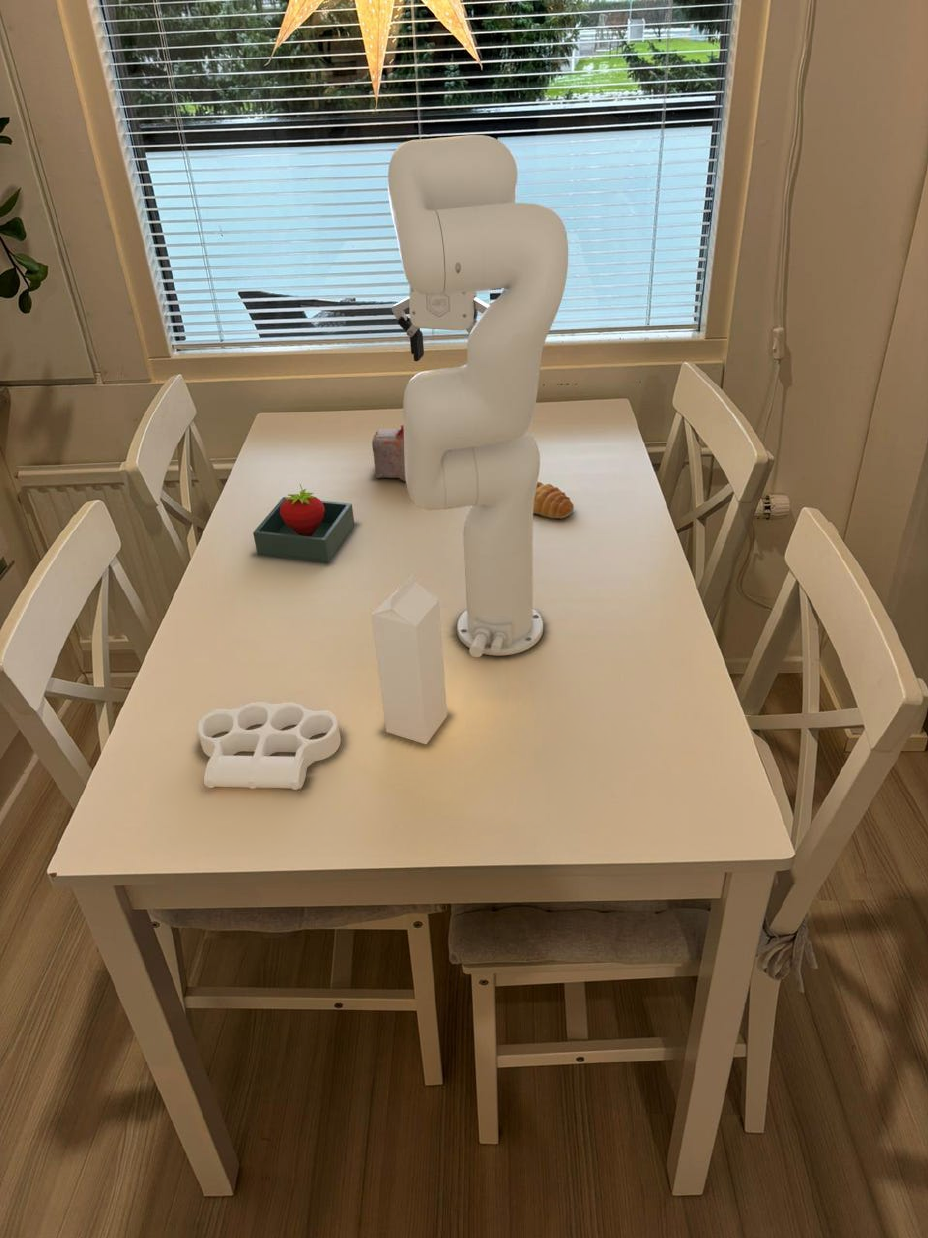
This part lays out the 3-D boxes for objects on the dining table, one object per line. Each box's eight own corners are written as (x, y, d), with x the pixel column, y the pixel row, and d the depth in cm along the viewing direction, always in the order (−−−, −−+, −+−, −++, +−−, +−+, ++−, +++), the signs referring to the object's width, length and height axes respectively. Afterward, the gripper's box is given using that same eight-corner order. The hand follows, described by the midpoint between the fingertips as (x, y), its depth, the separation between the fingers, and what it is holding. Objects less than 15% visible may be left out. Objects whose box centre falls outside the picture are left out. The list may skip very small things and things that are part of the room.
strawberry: (286, 530, 162) (276, 479, 156) (329, 527, 162) (321, 476, 156) (283, 548, 157) (273, 496, 151) (328, 544, 157) (320, 492, 151)
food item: (449, 465, 180) (446, 417, 174) (443, 484, 174) (440, 436, 168) (380, 463, 182) (375, 416, 176) (372, 483, 175) (367, 435, 170)
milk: (386, 733, 120) (366, 593, 107) (408, 704, 124) (392, 566, 111) (427, 745, 118) (412, 604, 105) (449, 716, 122) (437, 576, 109)
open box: (328, 562, 153) (325, 540, 151) (257, 554, 156) (252, 532, 154) (354, 525, 163) (351, 503, 160) (287, 518, 166) (283, 496, 163)
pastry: (582, 510, 164) (583, 491, 161) (557, 525, 160) (557, 506, 158) (542, 494, 169) (542, 475, 167) (517, 508, 165) (517, 489, 163)
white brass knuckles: (181, 793, 113) (216, 712, 125) (327, 796, 111) (348, 714, 123) (175, 773, 111) (211, 693, 123) (323, 776, 109) (345, 695, 121)
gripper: (378, 255, 140) (389, 365, 150) (489, 259, 135) (492, 372, 145) (395, 242, 145) (404, 348, 155) (502, 245, 141) (504, 355, 151)
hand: (447, 360), depth 150 cm, fingers open, 9 cm apart
